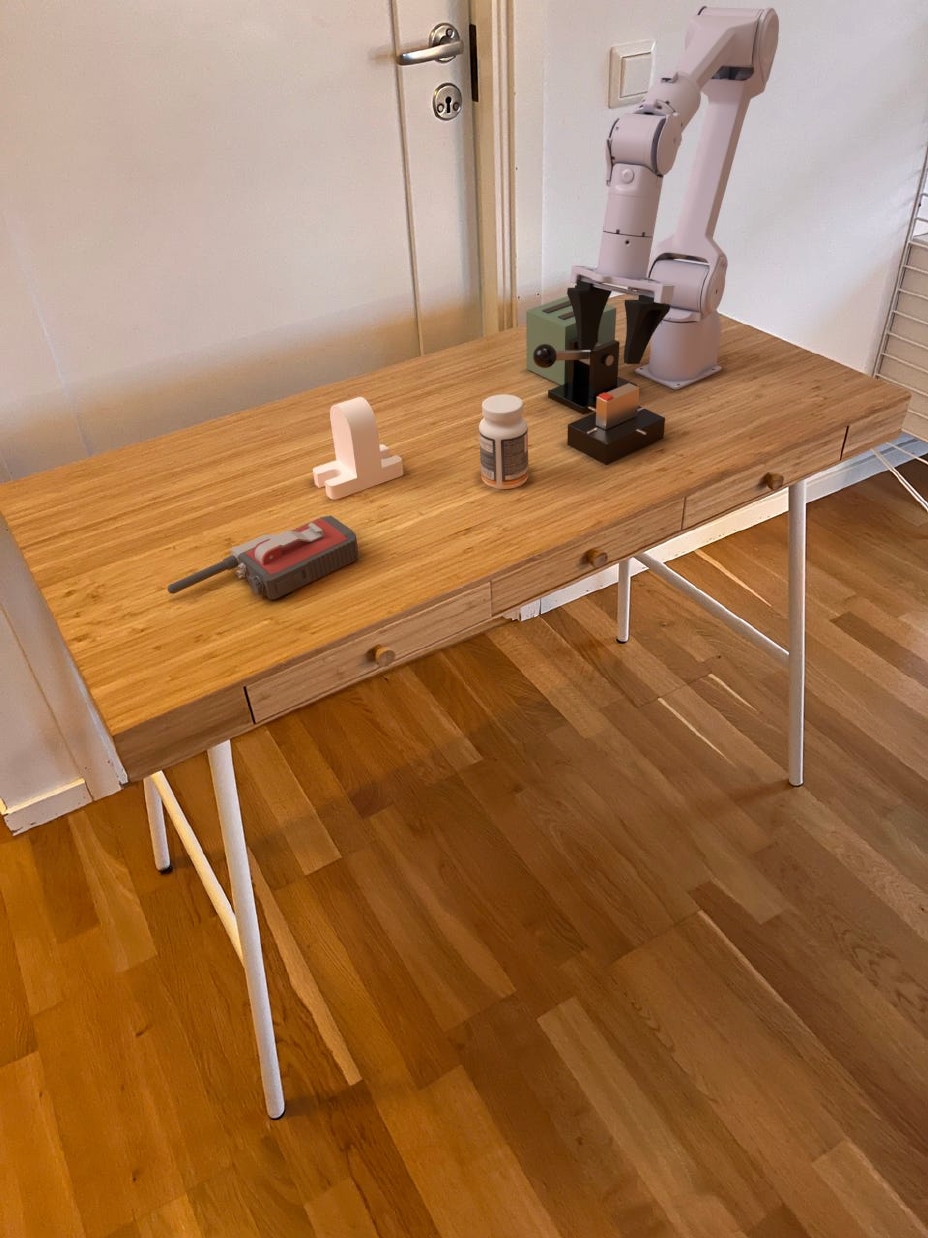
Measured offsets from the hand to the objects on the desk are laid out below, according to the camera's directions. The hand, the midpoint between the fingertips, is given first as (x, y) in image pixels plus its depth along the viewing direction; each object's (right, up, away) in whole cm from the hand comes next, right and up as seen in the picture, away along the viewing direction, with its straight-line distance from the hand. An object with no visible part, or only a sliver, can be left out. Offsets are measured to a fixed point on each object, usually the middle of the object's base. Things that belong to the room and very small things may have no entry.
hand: (608, 356), depth 114 cm
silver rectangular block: (+2, -7, +5) cm, 8 cm away
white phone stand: (-30, -14, +3) cm, 33 cm away
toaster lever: (-4, +2, +11) cm, 12 cm away
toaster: (-2, +4, +24) cm, 24 cm away
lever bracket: (0, -1, +17) cm, 17 cm away
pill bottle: (-12, -15, +1) cm, 19 cm away
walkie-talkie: (-38, -27, -12) cm, 48 cm away
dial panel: (+2, -9, +7) cm, 11 cm away
